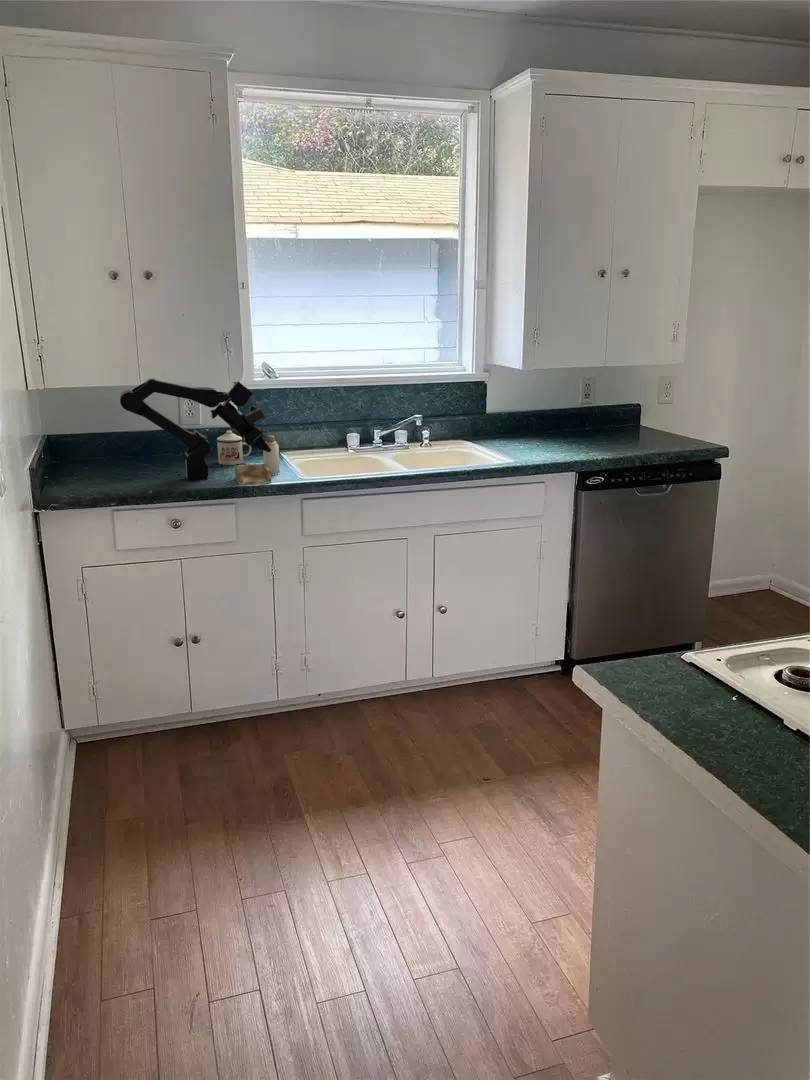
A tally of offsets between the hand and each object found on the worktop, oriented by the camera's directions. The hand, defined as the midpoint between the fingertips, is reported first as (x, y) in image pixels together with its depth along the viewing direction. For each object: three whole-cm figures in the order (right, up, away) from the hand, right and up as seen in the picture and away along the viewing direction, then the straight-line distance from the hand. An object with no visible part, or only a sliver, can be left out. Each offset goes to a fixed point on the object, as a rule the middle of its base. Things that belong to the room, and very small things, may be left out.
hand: (268, 448), depth 281 cm
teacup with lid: (-15, -3, +19) cm, 24 cm away
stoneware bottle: (+1, -8, +3) cm, 9 cm away
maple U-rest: (-4, -11, -7) cm, 14 cm away
